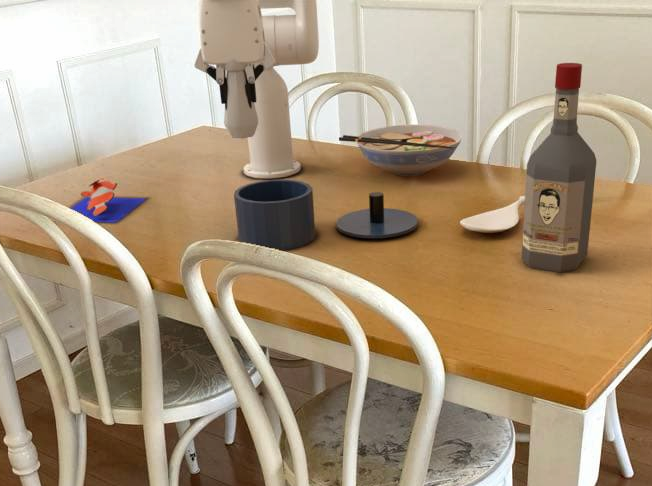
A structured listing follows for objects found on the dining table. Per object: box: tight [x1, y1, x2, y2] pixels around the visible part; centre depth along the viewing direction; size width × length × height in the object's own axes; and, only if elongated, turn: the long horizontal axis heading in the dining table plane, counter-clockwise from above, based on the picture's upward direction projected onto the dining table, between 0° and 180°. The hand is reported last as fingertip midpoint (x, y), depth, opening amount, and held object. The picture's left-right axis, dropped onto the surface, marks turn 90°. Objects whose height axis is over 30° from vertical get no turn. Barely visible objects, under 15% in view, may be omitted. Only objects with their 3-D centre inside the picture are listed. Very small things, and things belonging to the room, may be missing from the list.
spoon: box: [459, 195, 525, 234], centre depth 161 cm, size 9×32×4 cm, turn 135°
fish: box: [80, 177, 118, 217], centre depth 174 cm, size 13×5×9 cm
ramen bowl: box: [338, 124, 464, 177], centre depth 187 cm, size 25×23×8 cm
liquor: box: [521, 62, 598, 273], centre depth 134 cm, size 9×9×30 cm
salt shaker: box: [223, 60, 258, 140], centre depth 145 cm, size 6×6×13 cm
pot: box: [233, 179, 316, 251], centre depth 155 cm, size 14×14×8 cm
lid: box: [335, 191, 419, 239], centre depth 158 cm, size 15×15×6 cm
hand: (239, 106), depth 146 cm, fingers closed on salt shaker, 3 cm apart
